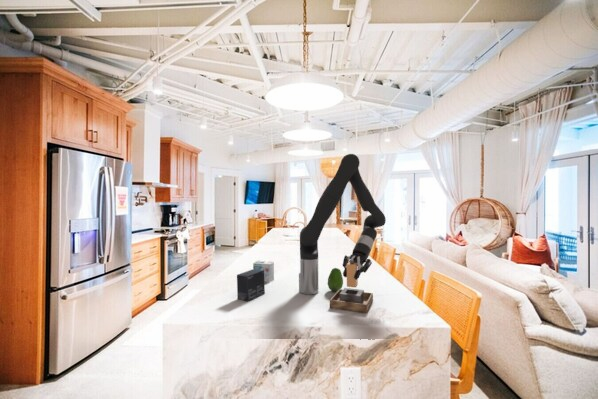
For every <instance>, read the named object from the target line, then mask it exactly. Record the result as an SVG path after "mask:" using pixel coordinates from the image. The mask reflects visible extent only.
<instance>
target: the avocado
mask: <svg viewBox="0 0 598 399" xmlns="http://www.w3.org/2000/svg"><path fill="white" fill-rule="evenodd" d="M343 285H344V278H343V273H342V271H341V269H340V268H338V267H337V268H336V267H334V268H332V269H331V271H330V273H329V275H328V278H327V286H328V289H329V290H331V292H335V293H336V292H337V291H338V290H339V289H342V287H343Z"/></svg>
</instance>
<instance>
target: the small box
mask: <svg viewBox="0 0 598 399" xmlns="http://www.w3.org/2000/svg"><path fill="white" fill-rule="evenodd" d="M265 286H266V285H265V282H264V270H258V269H253V268H252V269H249V270H247V271H244V272H240V273H238V274H236V288H237V295H236V296H237V300H240V301H244V302H250V301H252V300H254V299H256V298H258V297H260V296H262V295H265V291H266V290H265Z"/></svg>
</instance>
